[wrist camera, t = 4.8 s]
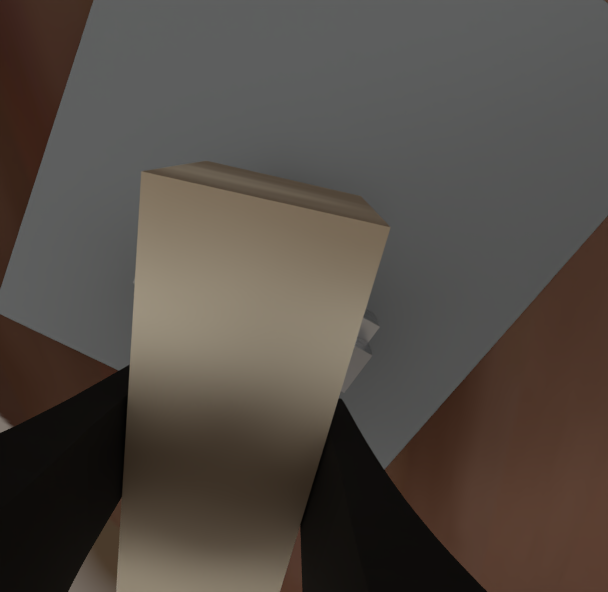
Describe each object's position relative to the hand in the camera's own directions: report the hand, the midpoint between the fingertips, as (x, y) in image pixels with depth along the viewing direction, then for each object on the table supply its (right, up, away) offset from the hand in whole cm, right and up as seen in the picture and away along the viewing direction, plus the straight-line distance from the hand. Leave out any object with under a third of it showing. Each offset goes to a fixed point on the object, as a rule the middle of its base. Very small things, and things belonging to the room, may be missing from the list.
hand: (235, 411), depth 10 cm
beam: (0, +1, +2) cm, 2 cm away
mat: (+2, +7, +8) cm, 10 cm away
